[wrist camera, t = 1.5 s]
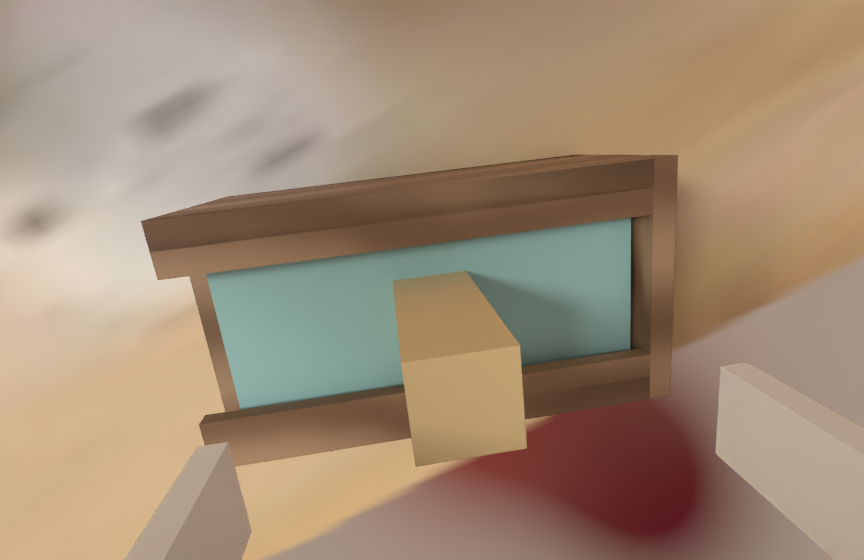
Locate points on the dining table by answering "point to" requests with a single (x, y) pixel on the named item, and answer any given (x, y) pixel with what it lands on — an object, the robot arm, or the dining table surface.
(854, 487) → the robot arm
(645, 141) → the dining table surface
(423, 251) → the cover plate
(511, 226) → the walnut box
